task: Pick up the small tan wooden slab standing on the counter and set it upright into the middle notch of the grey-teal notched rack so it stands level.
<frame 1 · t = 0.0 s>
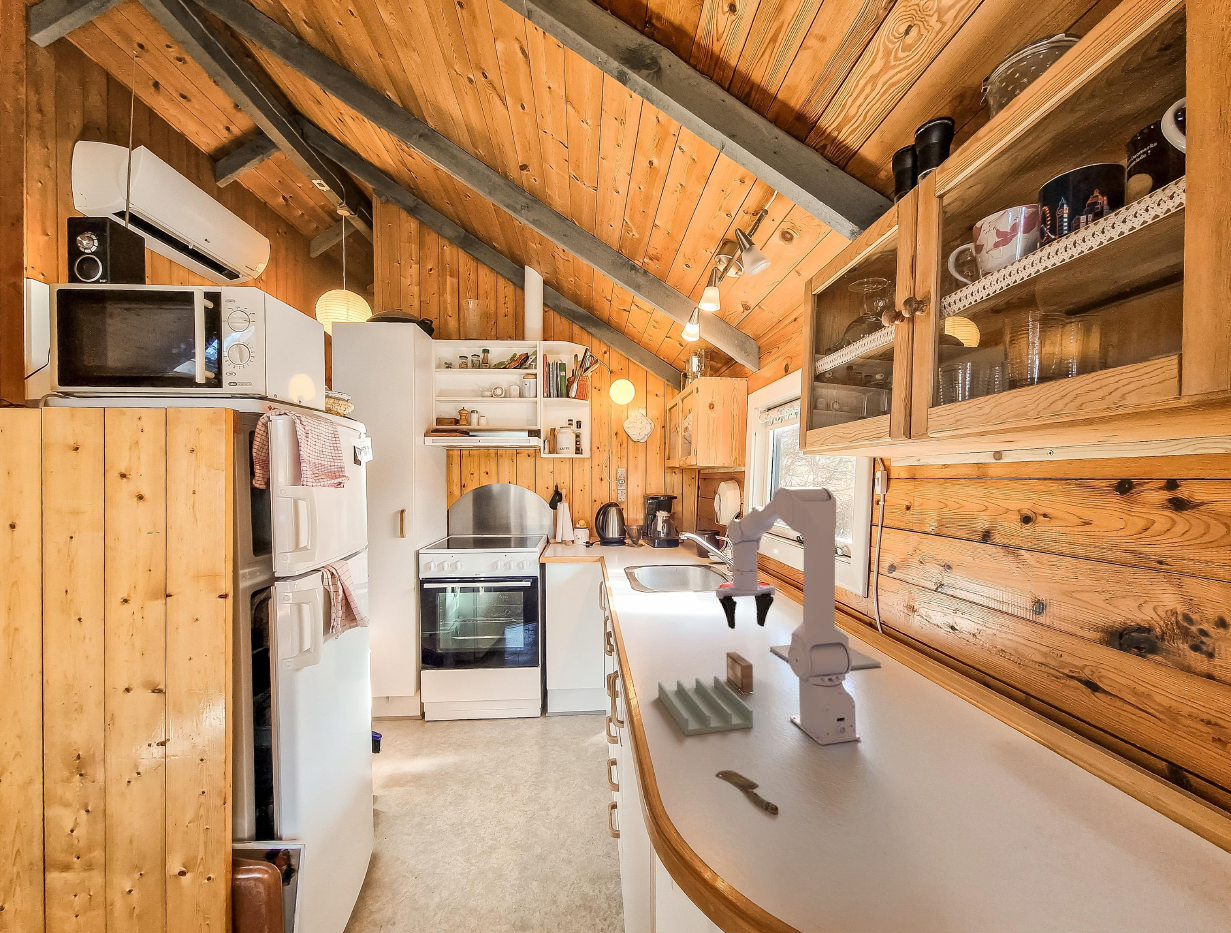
hand: (746, 626, 115), 10 cm above the counter, tool pointing down, fingers open, 7 cm apart
tan wooden slab: (739, 685, 106), on the counter
notched rack: (702, 710, 95), on the counter
brown knife: (744, 793, 70), on the counter
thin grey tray: (822, 661, 122), on the counter
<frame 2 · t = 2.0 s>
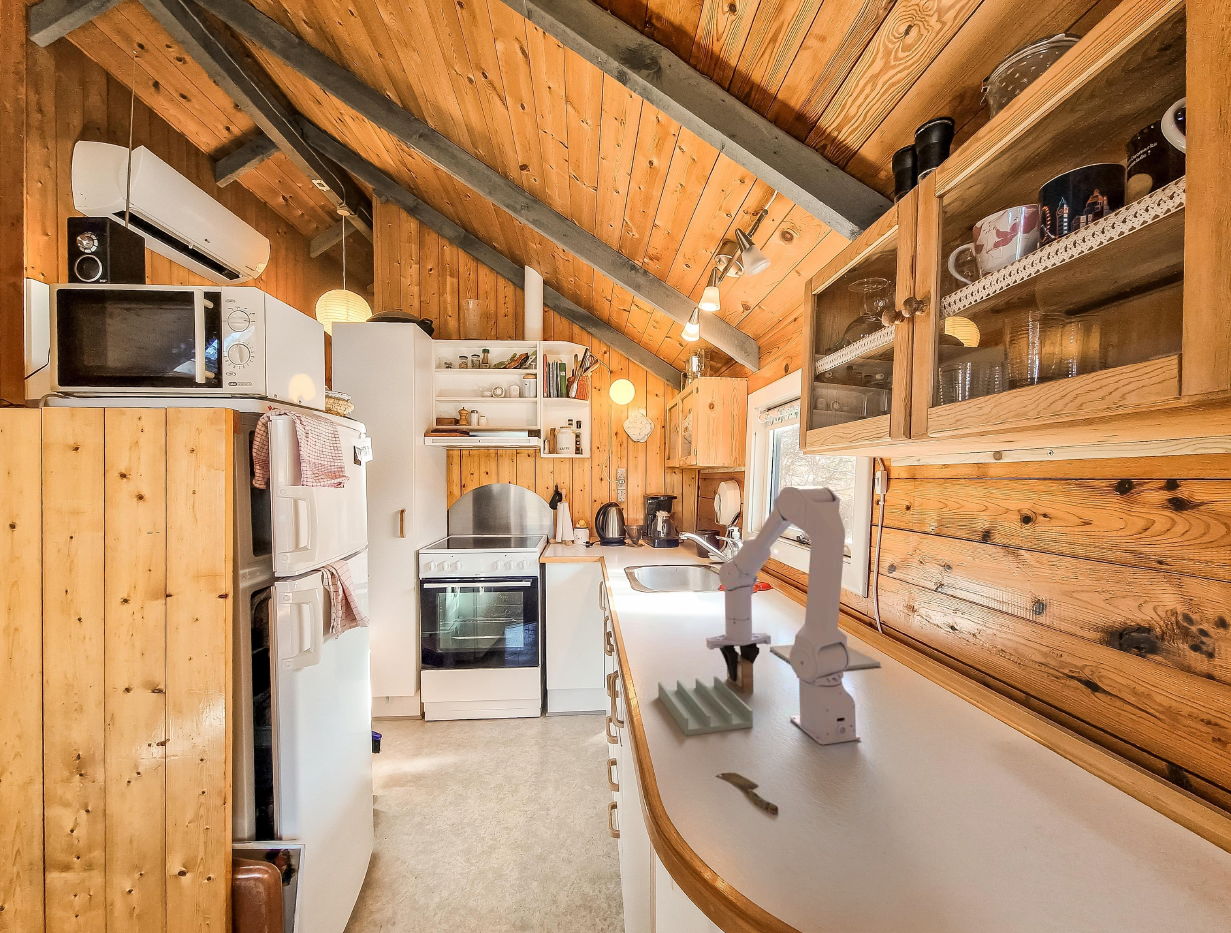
hand: (739, 678, 106), 1 cm above the counter, tool pointing down, fingers closed on tan wooden slab, 2 cm apart
tan wooden slab: (739, 685, 106), on the counter, touching gripper
everything else where it was.
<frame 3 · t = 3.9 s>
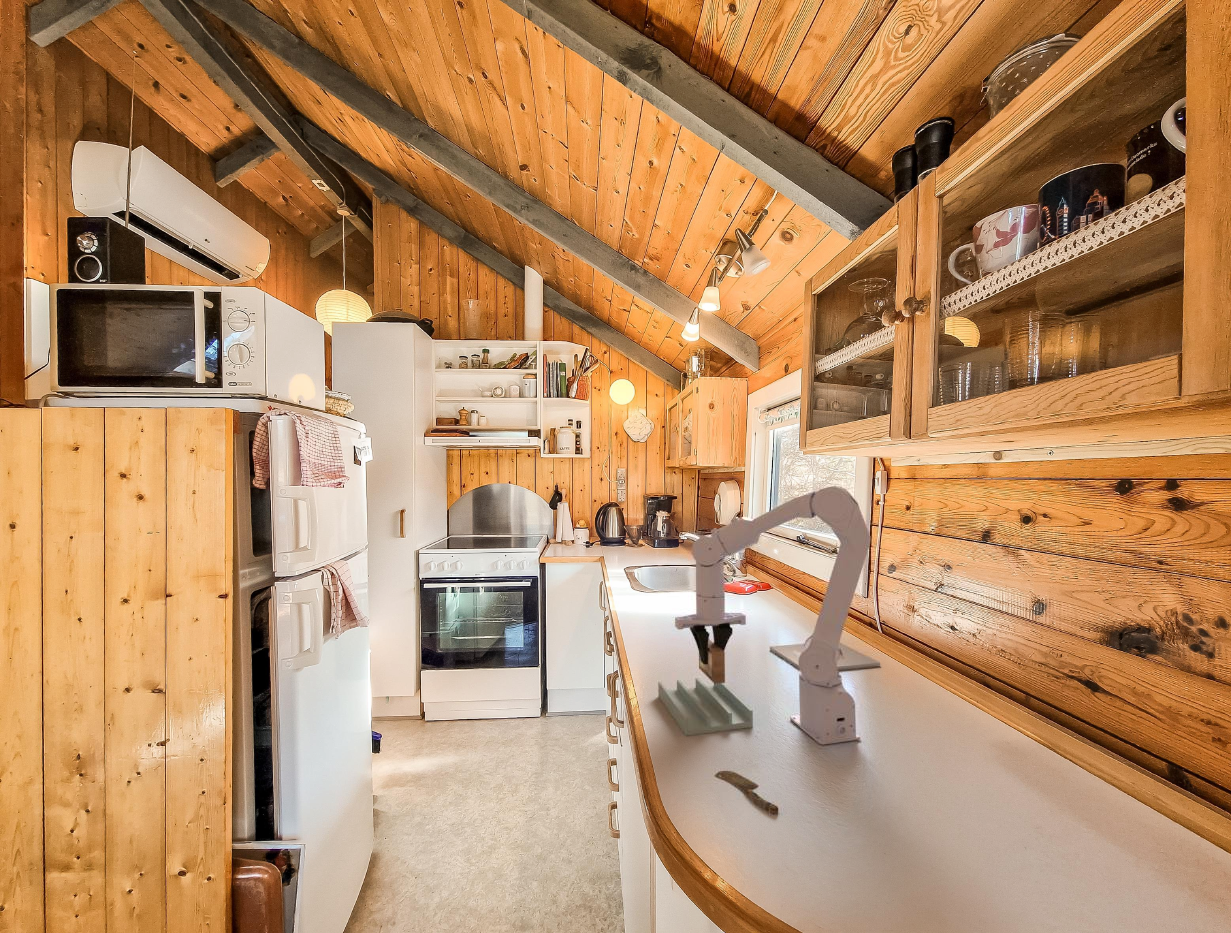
hand: (711, 661, 98), 8 cm above the counter, tool pointing down, fingers closed on tan wooden slab, 2 cm apart
tan wooden slab: (711, 675, 98), point 6 cm above the counter, touching gripper
everything else where it was.
when the fingers open (4 cm above the counter, at t = 5.8 s): tan wooden slab stays where it is, resting on notched rack.
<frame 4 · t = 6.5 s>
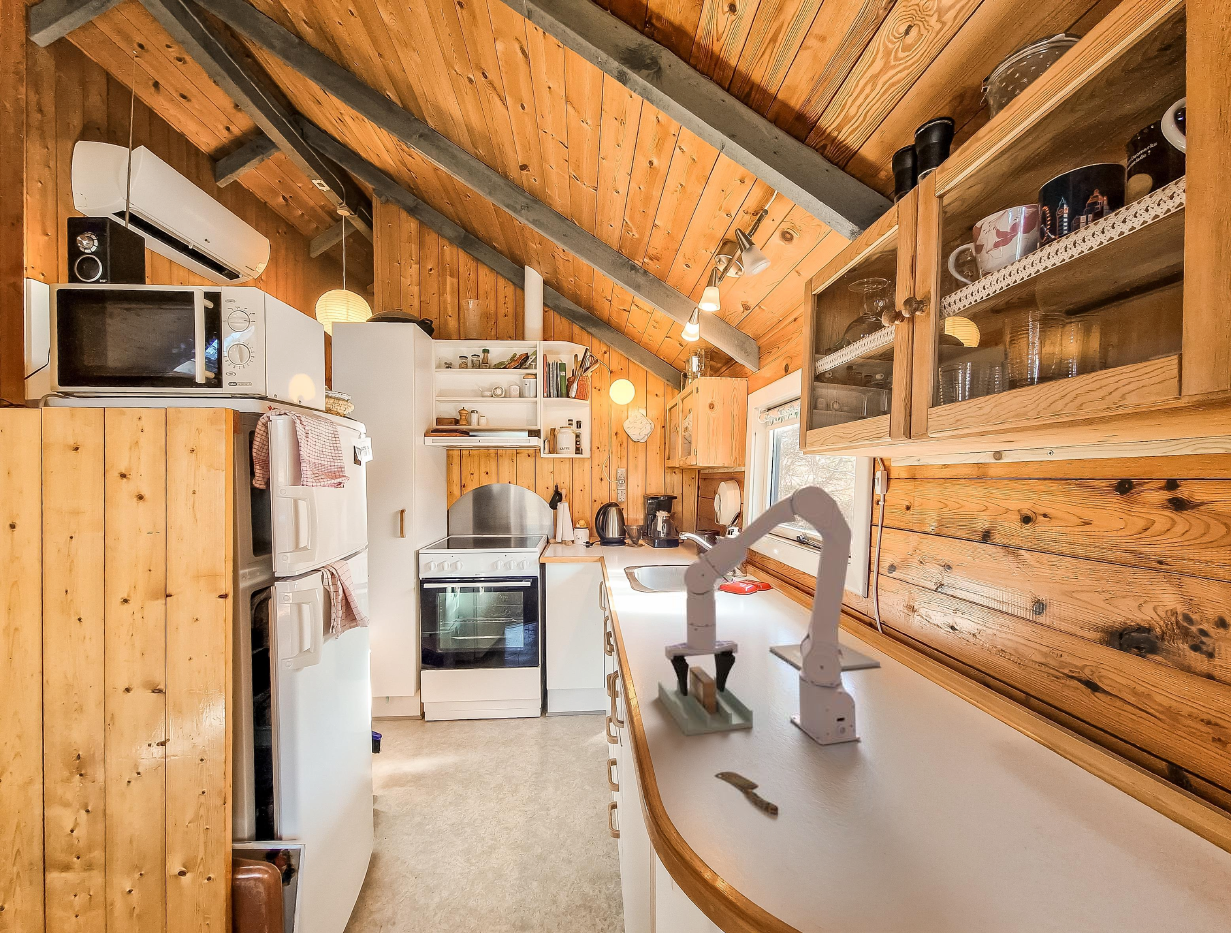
hand: (702, 692, 95), 4 cm above the counter, tool pointing down, fingers open, 7 cm apart
tan wooden slab: (702, 705, 95), point 1 cm above the counter, touching notched rack
everything else where it was.
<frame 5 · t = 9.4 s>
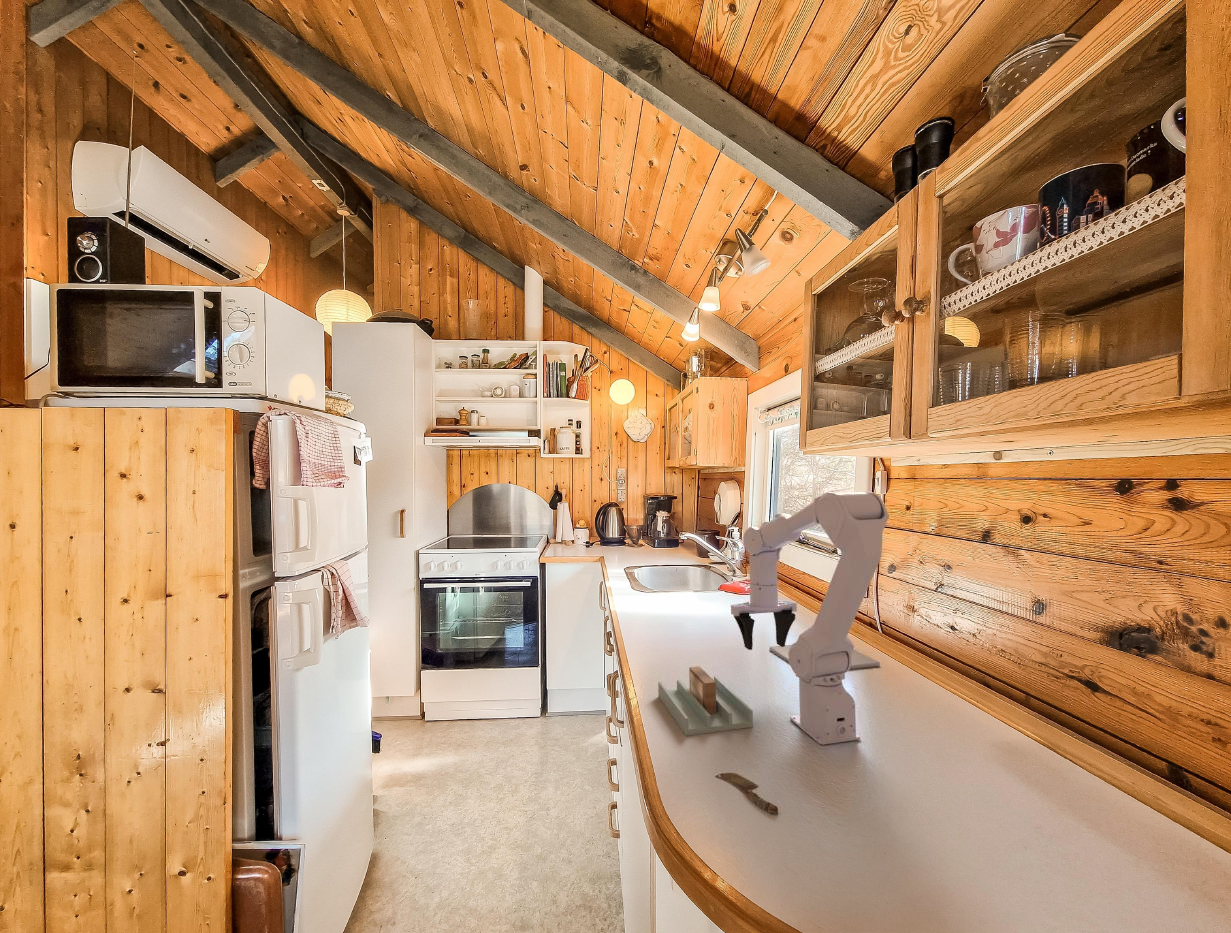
hand: (764, 646, 103), 9 cm above the counter, tool pointing down, fingers open, 7 cm apart
nothing on the counter moved.
at the end: tan wooden slab 0.1 cm off-centre on the notched rack, point 1.0 cm above the notched rack's base; tan wooden slab tilted 0°; the gripper is holding nothing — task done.
